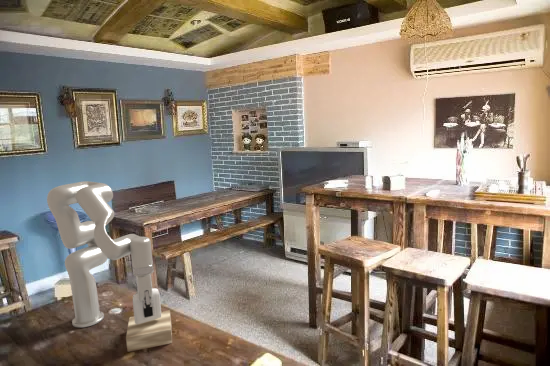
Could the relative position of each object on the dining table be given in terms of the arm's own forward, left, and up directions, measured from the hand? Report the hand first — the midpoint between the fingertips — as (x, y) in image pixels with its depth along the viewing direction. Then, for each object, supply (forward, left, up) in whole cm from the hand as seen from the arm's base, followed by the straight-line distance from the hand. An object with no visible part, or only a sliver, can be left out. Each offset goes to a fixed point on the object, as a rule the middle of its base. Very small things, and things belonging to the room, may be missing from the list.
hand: (147, 312), depth 150 cm
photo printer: (0, 0, -3) cm, 3 cm away
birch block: (0, 0, -10) cm, 10 cm away
